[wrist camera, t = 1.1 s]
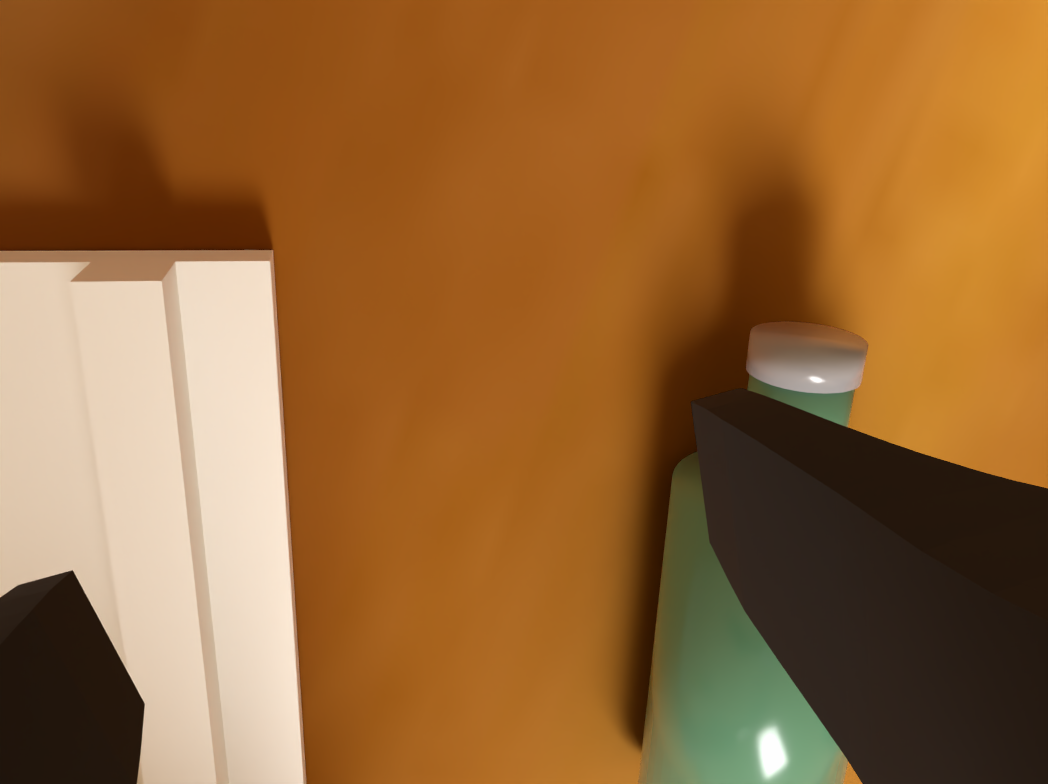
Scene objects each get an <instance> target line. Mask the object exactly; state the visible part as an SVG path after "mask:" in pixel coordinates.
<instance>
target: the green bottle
mask: <svg viewBox="0 0 1048 784" xmlns="http://www.w3.org/2000/svg"><path fill="white" fill-rule="evenodd" d="M867 350H868V343H867V342H866V341H865V340H864V339H863V338H861V337H860V336H858V335H856V334H854V333H851V332H849V331H846V330H842V329H839V328H835V327H831V326H826V325H821V324H815V323H807V322H794V321H778V322H768V323H762V324H759V325H756V326H754V327H753V328H752V329H751V331H750V338H749V346H748V353H747V360H746V370H747V372H748V373H749V380H748V387H747V390H749V391H753V392H756V393H759V394H762V395H764V396H767V397H770V398H773V399H775V400H778V401H780V402H783V403H786V404H788V405H791V406H794V407H796V408H799V409H801V410H804V411H806V412H809V413H812V414H814V415H817V416H819V417H822V418H824V419H827V420H830V421H832V422H835V423H837V424H840V425H843V426H845V427H848V424H849V419H850V413H851V408H852V402H853V397H854V392H855V389H856V388H858V387H859V386H860V385H861V382H862V376H863V371H864V366H865V361H866V355H867ZM847 764H848V760H847V758H846V757H845V756H844V754H843V753H842V751H841V750H840V748H839V747H838V746H837V744H836V743H835V741H834V740H833V738H832V737H831V736H830V734H829V733H828V731H827V730H826V728H825V727H824V725H823V724H822V723H821V721H820V720H819V718H818V717H817V715H816V714H815V713H814V711H813V710H812V708H811V707H810V705H809V704H808V702H807V701H806V700H805V698H804V697H803V695H802V694H801V692H800V691H799V690H798V688H797V687H796V685H795V684H794V682H793V681H792V680H791V678H790V677H789V675H788V674H787V672H786V671H785V669H784V668H783V667H782V665H781V664H780V662H779V661H778V659H777V658H776V656H775V655H774V654H773V652H772V651H771V649H770V648H769V646H768V645H767V643H766V642H765V640H764V639H763V637H762V636H761V635H760V633H759V632H758V630H757V629H756V627H755V626H754V624H753V623H752V621H751V620H750V618H749V617H748V615H747V614H746V612H745V611H744V609H743V607H742V605H741V603H740V601H739V600H738V598H737V596H736V594H735V592H734V590H733V588H732V586H731V584H730V582H729V581H728V579H727V577H726V575H725V573H724V570H723V568H722V566H721V564H720V562H719V560H718V558H717V556H716V554H715V552H714V550H713V548H712V546H711V544H710V542H709V534H708V527H707V519H706V512H705V504H704V497H703V489H702V482H701V474H700V467H699V459H698V452H694V453H692V454H690V455H688V456H687V457H685V458H684V459H682V460H681V461H680V462H679V463H678V464H677V466H676V467H675V469H674V472H673V475H672V484H671V493H670V502H669V511H668V520H667V529H666V538H665V547H664V556H663V565H662V574H661V583H660V592H659V601H658V610H657V619H656V628H655V637H654V646H653V655H652V664H651V673H650V682H649V691H648V700H647V709H646V718H645V727H644V736H643V745H642V754H641V763H640V772H639V781H638V784H843V783H844V778H845V774H846V769H847Z"/></svg>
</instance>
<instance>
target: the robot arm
mask: <svg viewBox="0 0 1048 784" xmlns="http://www.w3.org/2000/svg"><path fill="white" fill-rule="evenodd" d="M691 407H692V414H693V422H694V429H695V437H696V444H697V452H698V459H699V467H700V474H701V482H702V489H703V497H704V504H705V512H706V519H707V527H708V534H709V542H710V544H711V546H712V548H713V550H714V552H715V554H716V556H717V558H718V560H719V562H720V564H721V566H722V568H723V570H724V573H725V575H726V577H727V579H728V581H729V582H730V584H731V586H732V588H733V590H734V592H735V594H736V596H737V598H738V600H739V601H740V603H741V605H742V607H743V609H744V611H745V612H746V614H747V615H748V617H749V618H750V620H751V621H752V623H753V624H754V626H755V627H756V629H757V630H758V632H759V633H760V635H761V636H762V637H763V639H764V640H765V642H766V643H767V645H768V646H769V648H770V649H771V651H772V652H773V654H774V655H775V656H776V658H777V659H778V661H779V662H780V664H781V665H782V667H783V668H784V669H785V671H786V672H787V674H788V675H789V677H790V678H791V680H792V681H793V682H794V684H795V685H796V687H797V688H798V690H799V691H800V692H801V694H802V695H803V697H804V698H805V700H806V701H807V702H808V704H809V705H810V707H811V708H812V710H813V711H814V713H815V714H816V715H817V717H818V718H819V720H820V721H821V723H822V724H823V725H824V727H825V728H826V730H827V731H828V733H829V734H830V736H831V737H832V738H833V740H834V741H835V743H836V744H837V746H838V747H839V748H840V750H841V751H842V753H843V754H844V756H845V757H846V758H847V760H848V761H849V763H850V764H851V766H852V767H853V769H854V771H855V772H856V774H857V775H858V777H859V778H860V780H861V782H862V783H863V784H1048V489H1047V488H1043V487H1039V486H1035V485H1030V484H1026V483H1022V482H1017V481H1013V480H1009V479H1006V478H1002V477H998V476H995V475H991V474H987V473H984V472H980V471H976V470H973V469H970V468H967V467H963V466H960V465H957V464H954V463H950V462H947V461H944V460H941V459H937V458H934V457H931V456H928V455H925V454H921V453H918V452H915V451H912V450H910V449H907V448H904V447H901V446H898V445H895V444H892V443H889V442H886V441H883V440H881V439H878V438H875V437H872V436H870V435H867V434H864V433H861V432H859V431H856V430H853V429H851V428H848V427H845V426H843V425H840V424H837V423H835V422H832V421H830V420H827V419H824V418H822V417H819V416H817V415H814V414H812V413H809V412H806V411H804V410H801V409H799V408H796V407H794V406H791V405H788V404H786V403H783V402H780V401H778V400H775V399H773V398H770V397H767V396H764V395H762V394H759V393H756V392H753V391H749V390H746V389H742V388H738V389H735V390H731V391H727V392H724V393H720V394H716V395H713V396H709V397H705V398H702V399H698V400H694V401H691ZM144 709H145V703H144V701H143V699H142V698H141V696H140V694H139V692H138V690H137V688H136V687H135V685H134V683H133V681H132V679H131V677H130V675H129V674H128V672H127V670H126V668H125V666H124V664H123V662H122V661H121V659H120V657H119V655H118V653H117V651H116V649H115V648H114V646H113V644H112V642H111V640H110V638H109V636H108V635H107V633H106V631H105V629H104V627H103V625H102V623H101V622H100V620H99V618H98V616H97V614H96V612H95V610H94V609H93V607H92V605H91V603H90V601H89V599H88V597H87V596H86V594H85V592H84V590H83V588H82V586H81V584H80V583H79V581H78V579H77V577H76V575H75V573H74V571H73V570H71V571H68V572H64V573H60V574H57V575H53V576H49V577H46V578H42V579H38V580H35V581H31V582H27V583H24V584H20V585H17V586H16V587H14V588H13V589H11V590H10V591H9V592H7V593H6V594H4V595H3V596H2V597H0V784H137V779H138V770H139V762H140V754H141V744H142V732H143V720H144Z"/></svg>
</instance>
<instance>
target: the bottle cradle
mask: <svg viewBox="0 0 1048 784" xmlns="http://www.w3.org/2000/svg"><path fill="white" fill-rule="evenodd" d="M71 570H73V571H74V573H75V575H76V577H77V579H78V581H79V583H80V584H81V586H82V588H83V590H84V592H85V594H86V596H87V597H88V599H89V601H90V603H91V605H92V607H93V609H94V610H95V612H96V614H97V616H98V618H99V620H100V622H101V623H102V625H103V627H104V629H105V631H106V633H107V635H108V636H109V638H110V640H111V642H112V644H113V646H114V648H115V649H116V651H117V653H118V655H119V657H120V659H121V661H122V662H123V664H124V666H125V668H126V670H127V672H128V674H129V675H130V677H131V679H132V681H133V683H134V685H135V687H136V688H137V690H138V692H139V694H140V696H141V698H142V699H143V701H144V703H145V709H144V720H143V732H142V744H141V754H140V762H139V770H138V779H137V784H306V768H305V753H304V737H303V721H302V705H301V689H300V673H299V657H298V641H297V625H296V609H295V593H294V577H293V561H292V545H291V529H290V513H289V497H288V481H287V465H286V449H285V433H284V417H283V401H282V385H281V369H280V353H279V337H278V321H277V305H276V289H275V273H274V257H273V250H119V251H0V597H2V596H3V595H4V594H6V593H7V592H9V591H10V590H11V589H13V588H14V587H16V586H17V585H20V584H24V583H27V582H31V581H35V580H38V579H42V578H46V577H49V576H53V575H57V574H60V573H64V572H68V571H71Z"/></svg>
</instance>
